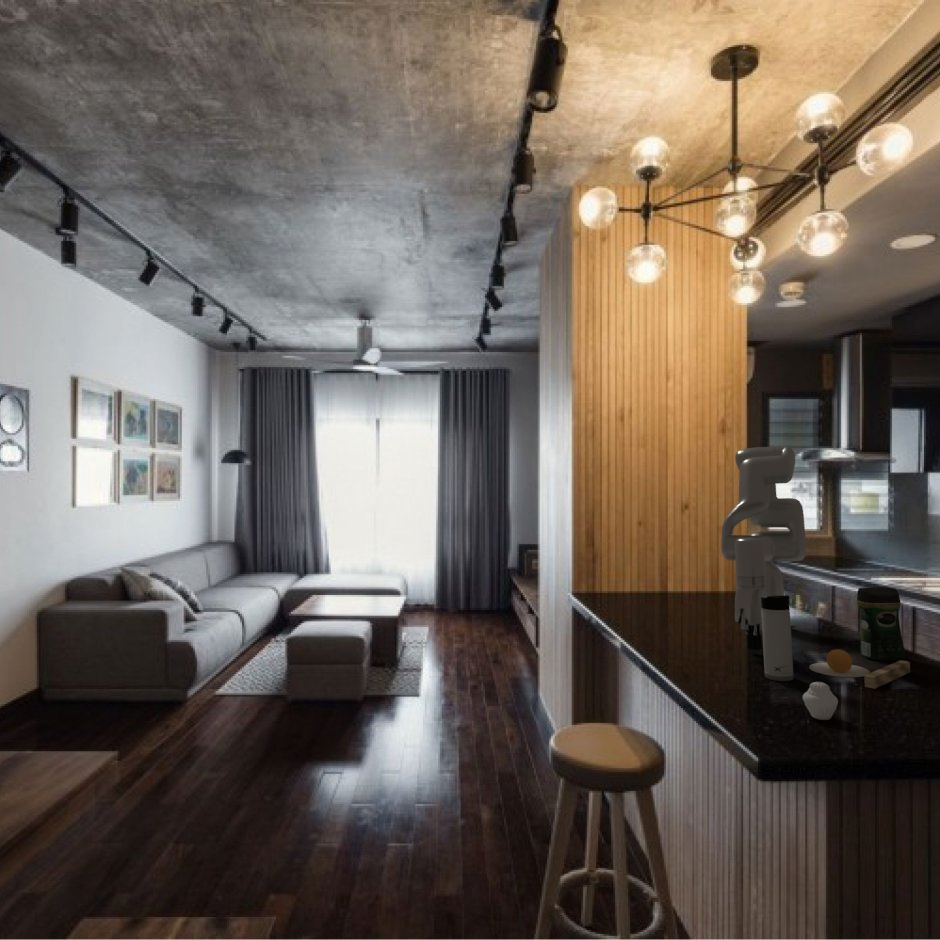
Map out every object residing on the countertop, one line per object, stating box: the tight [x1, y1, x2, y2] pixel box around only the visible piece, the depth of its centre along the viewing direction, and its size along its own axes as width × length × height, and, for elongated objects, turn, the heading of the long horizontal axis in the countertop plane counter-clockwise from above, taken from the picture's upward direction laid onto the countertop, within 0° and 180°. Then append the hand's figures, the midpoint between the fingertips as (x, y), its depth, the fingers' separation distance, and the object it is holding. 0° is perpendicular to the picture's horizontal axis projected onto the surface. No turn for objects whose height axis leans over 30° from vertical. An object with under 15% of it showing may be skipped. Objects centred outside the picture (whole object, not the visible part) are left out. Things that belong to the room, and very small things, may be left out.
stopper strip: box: [863, 660, 911, 689], centre depth 149 cm, size 20×2×2 cm, turn 126°
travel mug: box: [761, 594, 794, 682], centre depth 153 cm, size 6×7×20 cm
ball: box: [826, 648, 853, 673], centre depth 156 cm, size 6×6×6 cm
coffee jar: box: [856, 586, 906, 662], centre depth 168 cm, size 10×8×19 cm
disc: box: [808, 661, 871, 678], centre depth 158 cm, size 13×13×1 cm
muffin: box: [802, 681, 839, 721], centre depth 126 cm, size 6×6×7 cm
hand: (754, 648), depth 176 cm, fingers closed
